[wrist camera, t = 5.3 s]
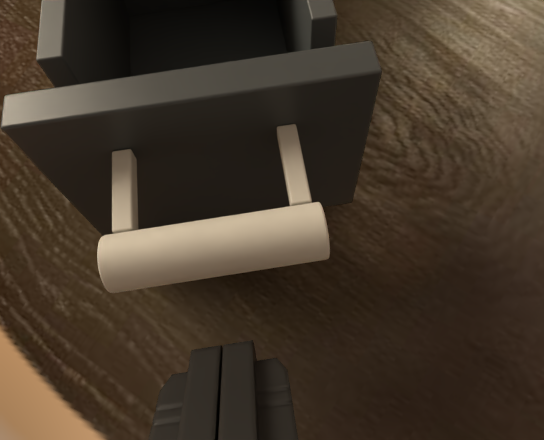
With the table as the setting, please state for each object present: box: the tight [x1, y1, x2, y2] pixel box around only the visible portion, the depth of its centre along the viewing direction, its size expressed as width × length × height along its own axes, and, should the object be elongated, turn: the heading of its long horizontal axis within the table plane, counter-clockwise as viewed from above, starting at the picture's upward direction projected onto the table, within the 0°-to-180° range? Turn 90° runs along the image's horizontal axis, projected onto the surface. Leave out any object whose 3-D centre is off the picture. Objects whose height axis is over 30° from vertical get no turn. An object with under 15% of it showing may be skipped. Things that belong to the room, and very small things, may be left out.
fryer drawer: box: [1, 0, 382, 293], centre depth 18 cm, size 17×10×8 cm, turn 8°
